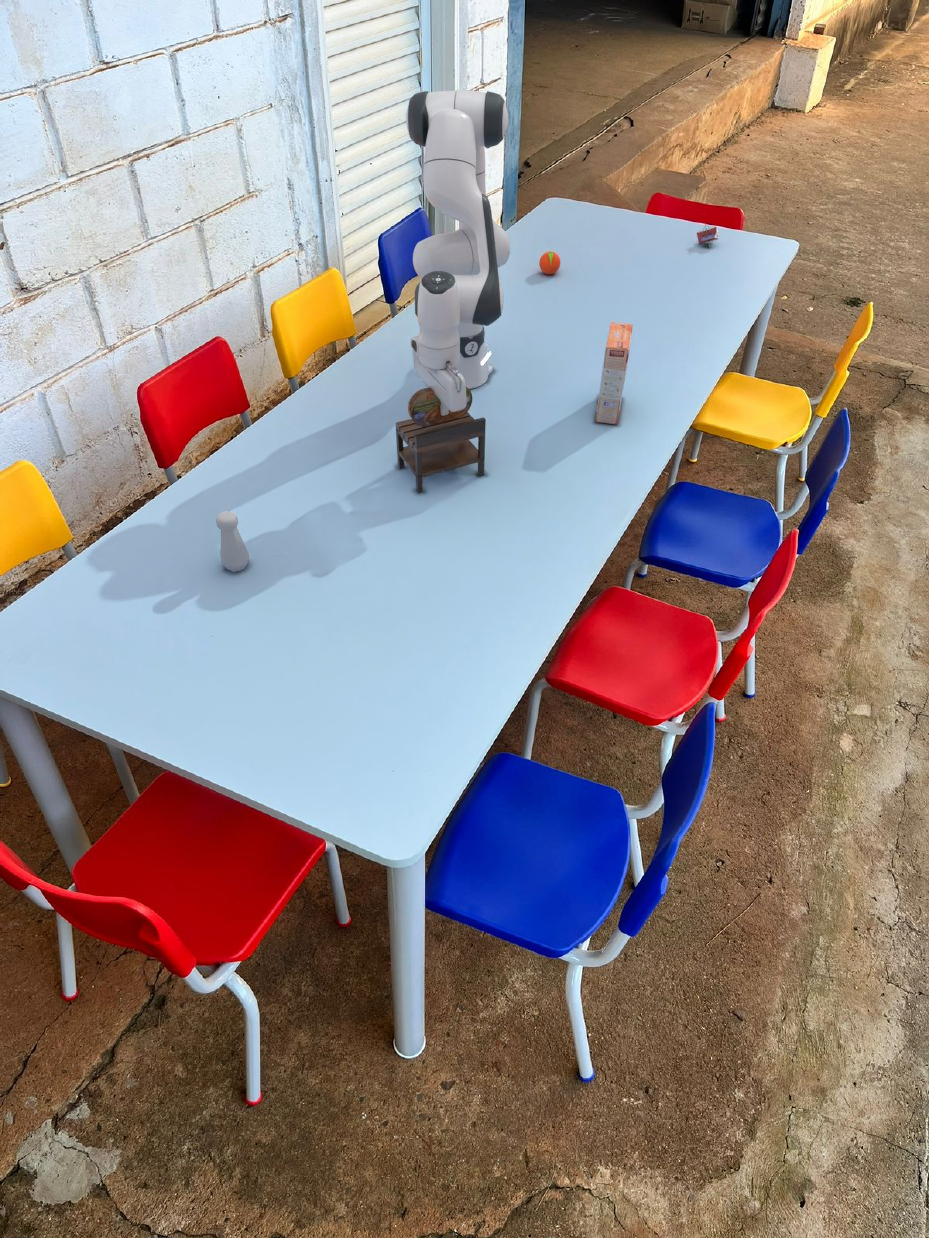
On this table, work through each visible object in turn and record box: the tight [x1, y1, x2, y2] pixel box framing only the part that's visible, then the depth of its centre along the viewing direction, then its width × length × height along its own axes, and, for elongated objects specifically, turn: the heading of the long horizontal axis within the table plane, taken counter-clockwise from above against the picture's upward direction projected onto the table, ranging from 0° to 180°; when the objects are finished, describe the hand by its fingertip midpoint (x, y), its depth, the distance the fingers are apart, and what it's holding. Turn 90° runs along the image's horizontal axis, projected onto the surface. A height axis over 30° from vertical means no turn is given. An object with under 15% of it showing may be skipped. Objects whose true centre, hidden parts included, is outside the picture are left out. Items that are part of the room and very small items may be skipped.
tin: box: [407, 386, 473, 427], centre depth 199 cm, size 15×3×8 cm, turn 116°
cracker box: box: [595, 321, 633, 426], centre depth 225 cm, size 14×6×21 cm, turn 168°
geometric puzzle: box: [696, 223, 720, 248], centre depth 310 cm, size 7×7×8 cm
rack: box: [395, 411, 487, 494], centre depth 206 cm, size 12×17×15 cm
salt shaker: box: [215, 510, 250, 573], centre depth 181 cm, size 6×6×13 cm
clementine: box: [538, 251, 561, 275], centre depth 291 cm, size 8×7×7 cm
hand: (440, 409), depth 200 cm, fingers closed on tin, 2 cm apart
